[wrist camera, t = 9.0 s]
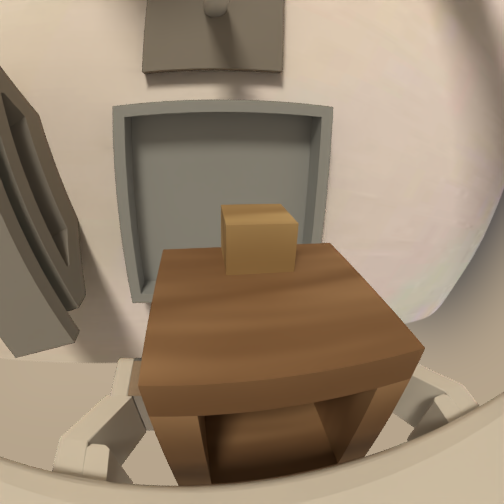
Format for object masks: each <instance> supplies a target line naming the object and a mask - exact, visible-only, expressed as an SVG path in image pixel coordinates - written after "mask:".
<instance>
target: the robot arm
mask: <svg viewBox="0 0 504 504" xmlns="http://www.w3.org/2000/svg"><path fill="white" fill-rule="evenodd" d="M141 361H142V358H120V359H119V360H118V363H117V367H116V372H115V376H114V381H113V386H112V390H111V395H106V396H105V397H104V398H103V399H102V400H100V401H99V402H98V403H97V404H96V405H95V406H94V407H93V408H92V409H91V410H90V411H88V412H87V413H86V414H85V415H84V416H83V417H82V418H81V419H80V420H79V421H78V422H76V423H75V424H74V425H73V426H72V427H71V428H70V429H69V430H68V431H67V432H66V433H65V434H63V435H62V436H61V437H60V440H59V444H58V448H57V452H56V457H55V461H54V466H53V470H52V471H47V470H43V469H39V468H36V467H32V466H28V465H25V464H21V463H18V462H15V461H12V460H9V459H6V458H3V457H0V504H504V392H503V393H501V394H499V395H498V396H496V397H495V398H493V399H491V400H490V401H488V402H487V403H485V404H483V405H481V406H479V405H478V403H477V402H476V401H475V399H474V398H473V397H472V396H471V394H470V393H469V392H468V390H467V389H466V388H465V387H464V385H463V384H461V383H458V382H456V381H454V380H452V379H450V378H447V377H445V376H443V375H441V374H439V373H437V372H435V371H433V370H430V369H428V368H426V367H424V366H422V365H420V364H418V365H417V367H416V369H415V371H414V373H413V375H412V377H411V379H410V381H409V383H408V385H407V387H406V388H405V390H404V392H403V394H402V396H401V398H400V400H399V401H398V403H397V405H396V407H395V409H394V410H393V413H394V414H396V415H397V416H399V417H400V418H401V419H403V420H404V421H406V422H407V423H409V424H410V425H411V426H413V427H414V430H413V431H412V433H411V434H410V435H409V437H408V439H407V440H408V442H405V443H403V444H400V445H398V446H395V447H392V448H389V449H387V450H384V451H381V452H378V453H375V454H372V455H369V456H366V457H363V458H360V459H356V460H353V461H350V462H346V463H342V464H339V465H335V466H331V467H327V468H323V469H319V470H315V471H310V472H306V473H301V474H296V475H290V476H285V477H279V478H273V479H266V480H259V481H251V482H242V483H232V484H219V485H199V486H157V485H139V484H133V482H132V480H131V479H130V478H129V476H128V475H127V474H126V472H125V471H124V469H123V468H122V467H121V466H122V464H123V463H124V462H125V460H126V459H127V457H128V456H129V455H130V453H131V452H132V451H133V449H134V448H135V447H136V445H137V444H138V443H139V441H140V440H141V438H142V437H143V436H144V434H145V433H146V430H154V429H153V426H152V424H151V421H150V418H149V416H148V413H147V410H146V408H145V405H144V402H143V399H142V396H141V394H140V391H139V388H138V381H139V374H140V367H141Z"/></svg>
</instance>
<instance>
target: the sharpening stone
mask: <svg viewBox="0 0 504 504" xmlns="http://www.w3.org/2000/svg"><path fill="white" fill-rule="evenodd" d="M85 295H86V291H85V285H84V278H83V270H82V262H81V252H80V242H79V230H78V218H77V216H76V214H75V211H74V209H73V207H72V204H71V202H70V200H69V197H68V195H67V193H66V190H65V188H64V185H63V183H62V180H61V178H60V175H59V172H58V170H57V167H56V164H55V162H54V159H53V156H52V153H51V151H50V148H49V145H48V142H47V139H46V136H45V133H44V130H43V126H42V123H41V120H40V117H39V115H38V113H37V112H36V111H35V110H34V108H33V107H32V106H31V105H30V104H29V102H28V101H27V100H26V99H25V97H24V96H23V95H22V94H21V92H20V91H19V90H18V89H17V87H16V86H15V85H14V84H13V82H12V81H11V80H10V78H9V77H8V76H7V74H6V73H5V72H4V71H3V69H2V68H1V67H0V338H1V339H2V340H3V342H4V343H5V345H6V346H7V347H8V349H9V350H10V351H11V352H12V354H13V355H14V356H15V358H17V357H21V356H25V355H29V354H33V353H37V352H41V351H45V350H49V349H53V348H57V347H60V346H64V345H68V344H72V343H75V340H76V338H77V336H78V333H79V331H80V330H79V329H78V327H77V326H76V325H75V323H74V322H73V320H72V318H71V317H70V315H69V314H68V312H67V311H70V310H73V309H76V308H79V306H80V304H81V303H82V301H83V299H84V297H85Z"/></svg>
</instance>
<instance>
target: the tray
mask: <svg viewBox="0 0 504 504" xmlns="http://www.w3.org/2000/svg"><path fill="white" fill-rule="evenodd" d="M332 121H333V107H329V106H321V105H312V104H302V103H291V102H277V101H259V100H181V101H163V102H150V103H139V104H129V105H120V106H113V149H114V167H115V181H116V193H117V203H118V213H119V221H120V229H121V237H122V244H123V251H124V258H125V264H126V270H127V276H128V282H129V287H130V292H131V298H132V303H152V298H153V293H154V289H155V284H156V279H157V274H158V270H159V265H160V261H161V256H162V252H163V250H164V249H187V248H211V247H221V205H233V204H281V205H282V206H283V207H284V208H285V209H286V210H287V211H288V212H289V213H290V215H291V216H292V217H293V218H294V219H295V220H296V221H297V222H298V223H299V225H298V237H297V244H316V243H321V242H322V234H323V225H324V216H325V207H326V197H327V187H328V176H329V164H330V152H331V137H332Z"/></svg>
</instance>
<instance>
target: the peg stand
mask: <svg viewBox="0 0 504 504" xmlns="http://www.w3.org/2000/svg"><path fill="white" fill-rule="evenodd" d="M283 25H284V0H147V8H146V18H145V30H144V43H143V61H142V72H143V73H144V74H147V73H159V72H174V71H201V70H229V71H256V72H272V73H280V72H282V66H283Z"/></svg>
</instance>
